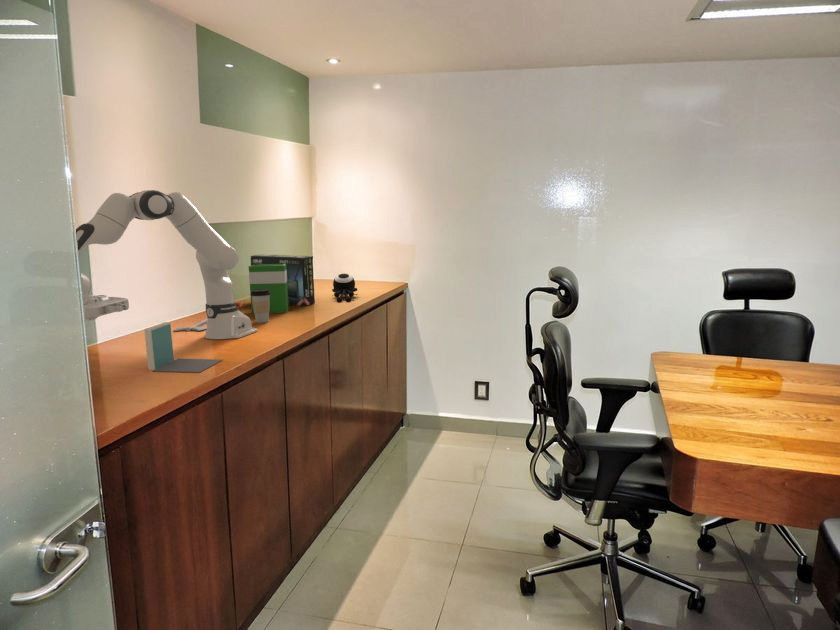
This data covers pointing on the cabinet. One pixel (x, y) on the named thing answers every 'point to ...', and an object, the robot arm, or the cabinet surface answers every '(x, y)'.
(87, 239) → the robot arm
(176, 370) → the rubber mat
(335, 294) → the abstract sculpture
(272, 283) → the green cereal box
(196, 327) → the driftwood branch
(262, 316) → the coffee cup
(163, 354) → the ceramic tile
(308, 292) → the router box
